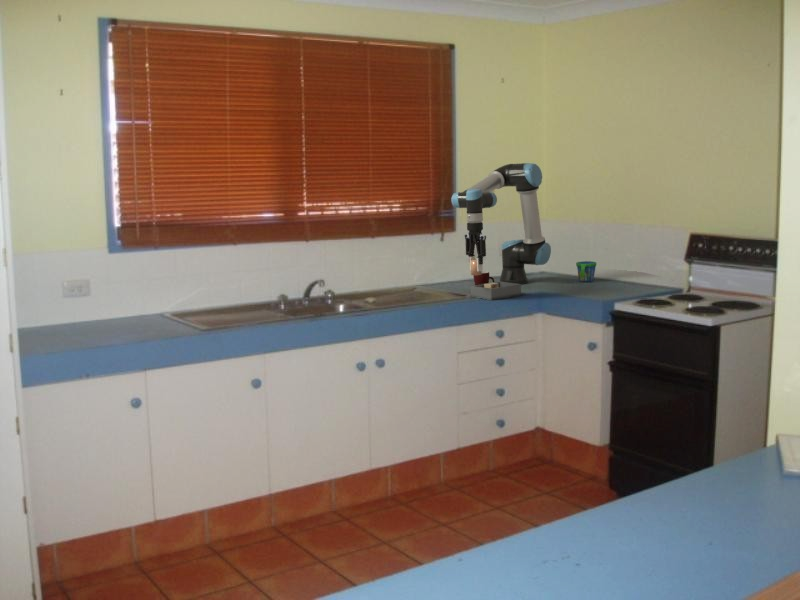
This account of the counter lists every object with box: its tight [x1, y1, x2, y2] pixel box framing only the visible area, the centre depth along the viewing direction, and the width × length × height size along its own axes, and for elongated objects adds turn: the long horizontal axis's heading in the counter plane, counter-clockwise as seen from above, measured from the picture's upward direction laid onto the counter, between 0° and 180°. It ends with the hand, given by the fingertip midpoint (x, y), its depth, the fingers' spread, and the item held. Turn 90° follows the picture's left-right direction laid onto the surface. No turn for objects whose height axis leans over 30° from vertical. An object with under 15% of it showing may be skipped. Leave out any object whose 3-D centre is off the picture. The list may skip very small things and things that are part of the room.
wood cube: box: [484, 282, 499, 289], centre depth 445 cm, size 5×5×5 cm
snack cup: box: [576, 260, 597, 283], centre depth 479 cm, size 16×10×10 cm
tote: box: [469, 281, 522, 301], centre depth 442 cm, size 20×15×6 cm
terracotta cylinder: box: [470, 258, 482, 276], centre depth 430 cm, size 5×5×7 cm
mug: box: [472, 270, 495, 286], centre depth 459 cm, size 11×8×10 cm
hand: (476, 270), depth 430 cm, fingers closed on terracotta cylinder, 5 cm apart
